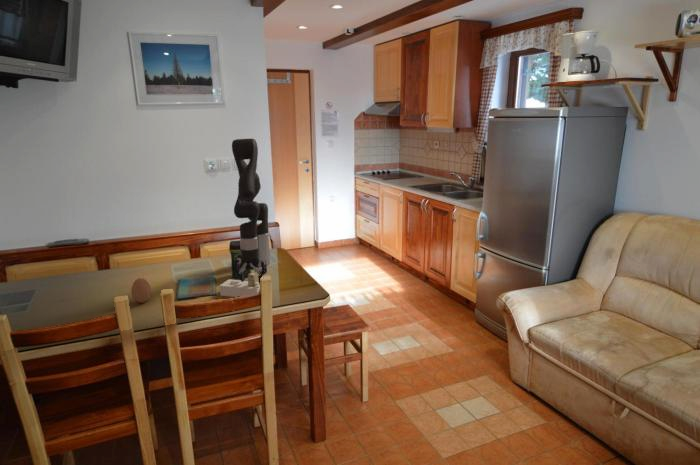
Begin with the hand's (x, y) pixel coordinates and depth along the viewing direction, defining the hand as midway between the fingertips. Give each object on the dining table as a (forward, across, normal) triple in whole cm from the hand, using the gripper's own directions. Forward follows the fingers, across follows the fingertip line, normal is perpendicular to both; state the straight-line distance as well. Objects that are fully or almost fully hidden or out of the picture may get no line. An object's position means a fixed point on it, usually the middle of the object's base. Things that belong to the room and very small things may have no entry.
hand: (251, 282), depth 191 cm
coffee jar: (+7, +16, -21) cm, 28 cm away
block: (+6, +4, 0) cm, 8 cm away
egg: (+7, +42, +18) cm, 47 cm away
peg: (+6, 0, 0) cm, 6 cm away
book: (+7, +28, -1) cm, 29 cm away
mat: (+6, +12, -11) cm, 18 cm away
